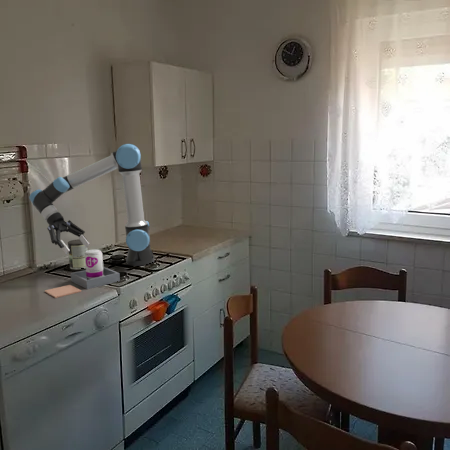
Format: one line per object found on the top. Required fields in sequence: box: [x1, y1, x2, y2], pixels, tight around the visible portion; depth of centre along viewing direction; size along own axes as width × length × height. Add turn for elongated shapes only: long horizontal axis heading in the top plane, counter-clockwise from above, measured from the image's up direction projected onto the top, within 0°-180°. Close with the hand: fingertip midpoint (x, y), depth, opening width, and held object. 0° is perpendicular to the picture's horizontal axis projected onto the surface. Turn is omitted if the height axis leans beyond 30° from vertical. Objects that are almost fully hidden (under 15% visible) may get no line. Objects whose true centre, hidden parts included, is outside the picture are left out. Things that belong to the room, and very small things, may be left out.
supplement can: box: [85, 248, 104, 280], centre depth 229 cm, size 8×8×15 cm
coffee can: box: [67, 238, 89, 270], centre depth 255 cm, size 10×10×14 cm
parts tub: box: [70, 266, 121, 290], centre depth 230 cm, size 17×17×4 cm
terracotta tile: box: [44, 284, 82, 299], centre depth 215 cm, size 12×12×1 cm
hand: (78, 249), depth 231 cm, fingers open, 13 cm apart
